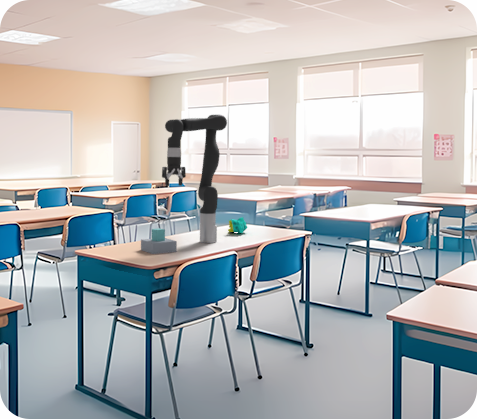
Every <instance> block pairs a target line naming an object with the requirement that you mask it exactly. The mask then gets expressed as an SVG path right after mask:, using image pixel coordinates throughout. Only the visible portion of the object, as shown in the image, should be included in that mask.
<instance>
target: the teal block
mask: <svg viewBox="0 0 477 419" xmlns="http://www.w3.org/2000/svg"><path fill="white" fill-rule="evenodd" d="M165 238H166V229H164V228H159V227H157V228H151V239H152V240H153V241H165Z"/></svg>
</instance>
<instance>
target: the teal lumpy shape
mask: <svg viewBox="0 0 477 419" xmlns="http://www.w3.org/2000/svg"><path fill="white" fill-rule="evenodd" d="M228 227H229V228H228V229H227V232H228V231H229V233H230V232H238V233H242V234H243V233H244V232H245V231H246V230H247V229H248V226H247V222H246V221H245V219H244V217H243V216H242V217H239V218H238V219H233V218H232V219H228Z"/></svg>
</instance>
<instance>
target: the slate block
mask: <svg viewBox="0 0 477 419" xmlns="http://www.w3.org/2000/svg"><path fill="white" fill-rule="evenodd" d="M177 246H178V244H177V240H174V239H171V238H166V237H165V241H153V240H152V238H143V239H140V251H143V252H146V253H148V254H151V255H157V254H166V253H168V254H169V253H176V252H178V251H177V250H178V249H177Z"/></svg>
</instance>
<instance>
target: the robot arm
mask: <svg viewBox="0 0 477 419" xmlns="http://www.w3.org/2000/svg"><path fill="white" fill-rule="evenodd" d="M227 121H228V120H227V117H225V116H224V115H222V114H210V115H208V116H207V117H204V118H203V117H197V118H196V117H194V118H193V117H192V118H190V117H189V118H181V119H178V118H176V119H169V120H167V121H166V122H165V124H164V128H165V131H167V132H168V133H171V136H169V137H168V139H167V151H166V152H167V153H166V154H167V156H166V164H167V165H166V166H167V167H166V166H162V170H161V178H162V179H164V180H165V181H164V183H165V186H166V187H169V186H170V177H171V176H175V175H176V176H177V177H178V186H179V187H180V186H181V187H182V186H183V179H184V178H186V176H187V175H186V167H185V166H181V165H182V149H181V140H182V137H183V132H193V131H201V130H202V131H204V130H205V142H204V151H203V160H202V169H201V177H200V183H199V186H198V191H197V192H198V193H197V195H198V199H199V200H200V201H202V202H203V204H202V207H201V208H200V209H199V243H202V244H210V243H211V244H212V243H216V242H217V240H218V239H217V236H218V232H217V231H218V226H217V225H216V224H217V223H216V221H217V220H216V219H217V218H216V217H217V216H216V214H217V212H216V210H217V208H218V198H219V197H218V196H219V195H218V190H217V188H216V187H214V186H212V184H213V178H214V175H215V174H216V171H217V169H218V166H219V162H220V156H221V155H220V148H219V146H218V143H217V131H223V130H225V128H226V127H227V125H228V122H227Z"/></svg>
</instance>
